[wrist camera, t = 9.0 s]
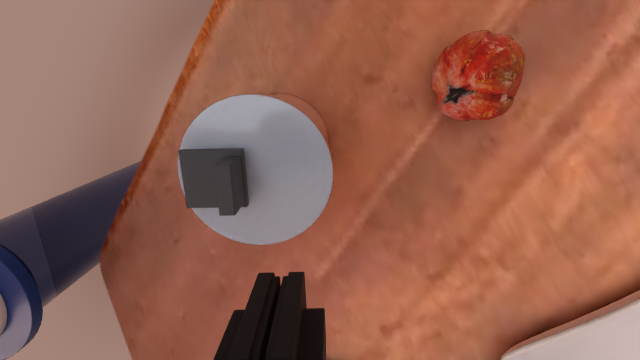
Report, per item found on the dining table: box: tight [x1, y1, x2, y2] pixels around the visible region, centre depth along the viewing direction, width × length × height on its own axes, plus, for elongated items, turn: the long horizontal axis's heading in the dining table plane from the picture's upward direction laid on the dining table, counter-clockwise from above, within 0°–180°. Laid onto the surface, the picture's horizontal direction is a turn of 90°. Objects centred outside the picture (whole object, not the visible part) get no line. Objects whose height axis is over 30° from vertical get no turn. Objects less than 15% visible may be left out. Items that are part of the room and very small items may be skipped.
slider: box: [178, 148, 249, 216], centre depth 21 cm, size 4×4×3 cm
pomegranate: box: [432, 30, 524, 121], centre depth 29 cm, size 7×7×10 cm
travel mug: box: [178, 94, 333, 245], centre depth 29 cm, size 11×11×12 cm
